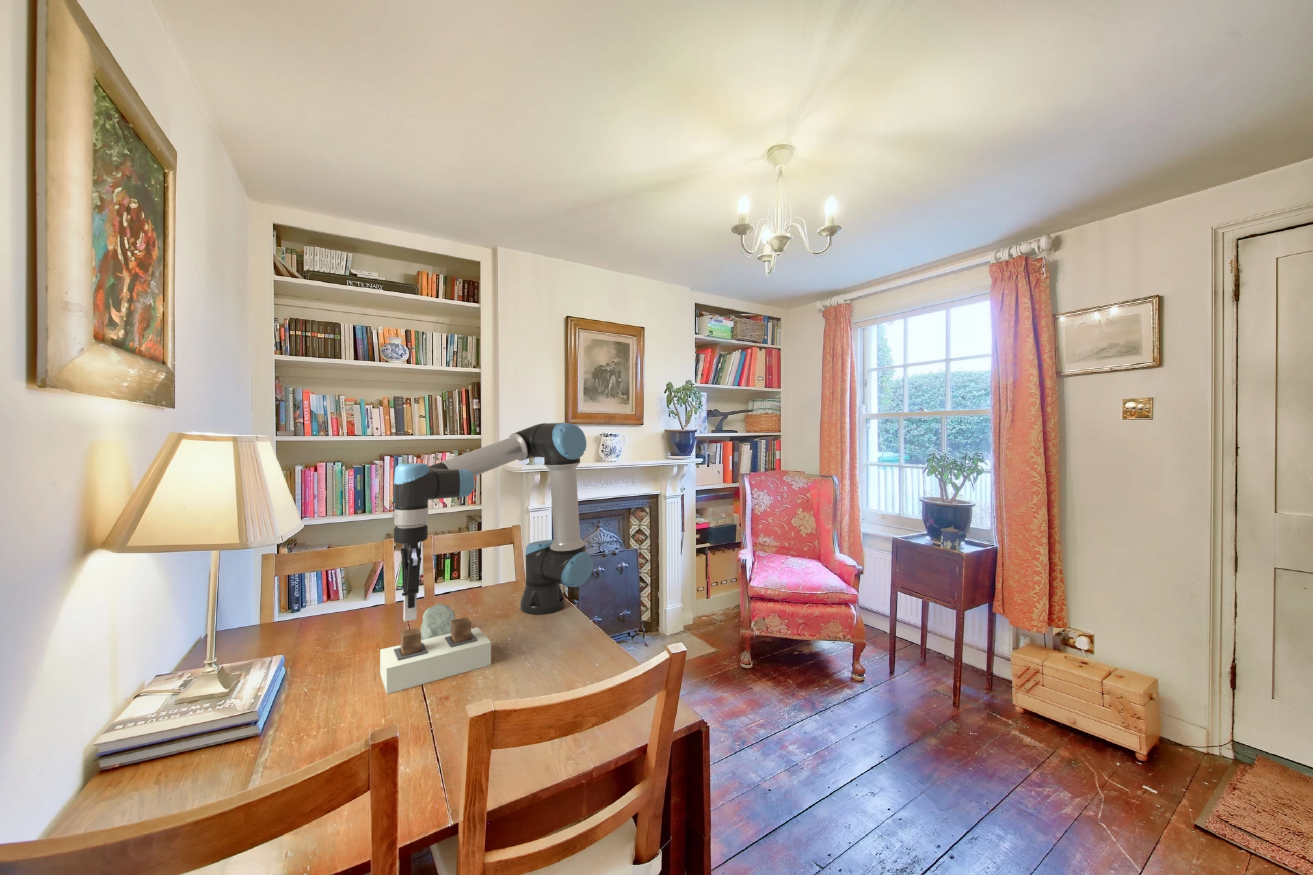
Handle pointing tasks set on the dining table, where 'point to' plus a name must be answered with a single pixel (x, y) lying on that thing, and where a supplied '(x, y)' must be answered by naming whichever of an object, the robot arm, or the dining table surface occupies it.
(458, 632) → the peg
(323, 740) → the dining table surface
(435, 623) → the decorative stone
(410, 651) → the peg
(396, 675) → the socket block
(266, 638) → the dining table surface
